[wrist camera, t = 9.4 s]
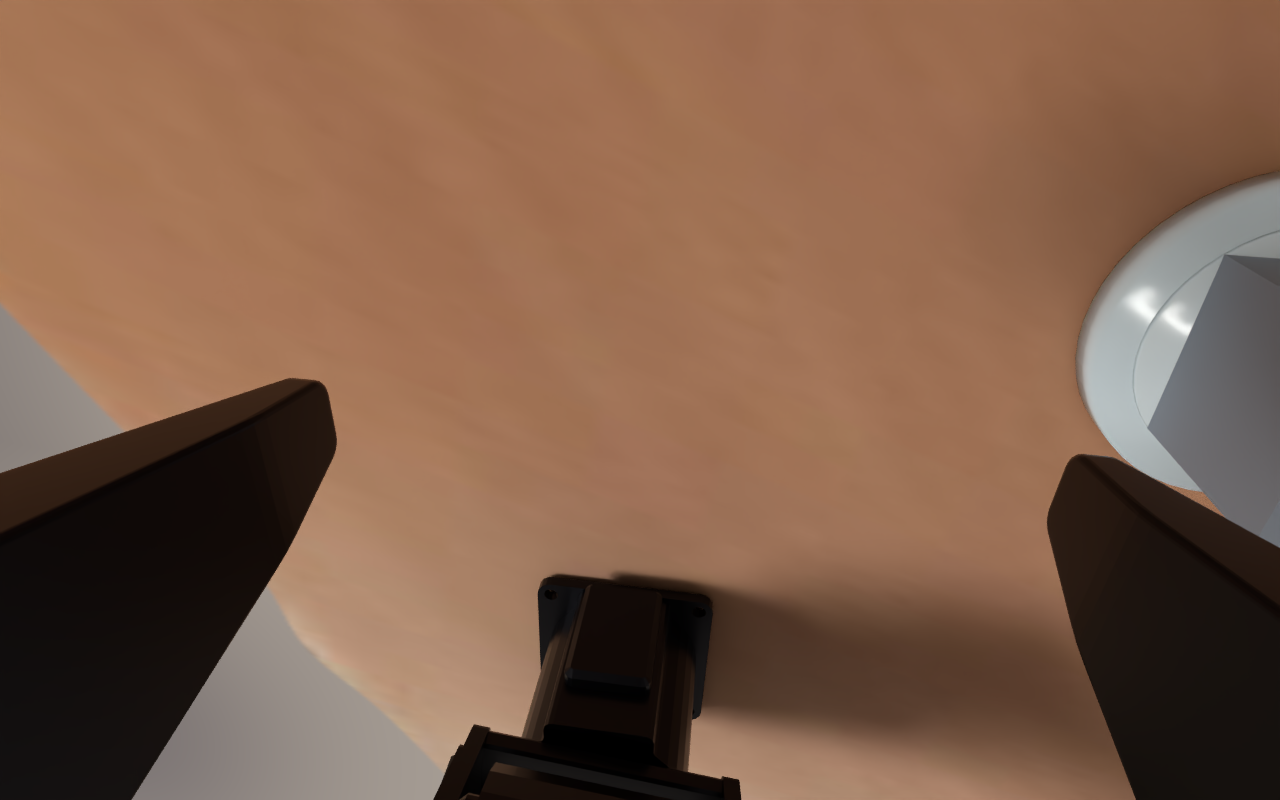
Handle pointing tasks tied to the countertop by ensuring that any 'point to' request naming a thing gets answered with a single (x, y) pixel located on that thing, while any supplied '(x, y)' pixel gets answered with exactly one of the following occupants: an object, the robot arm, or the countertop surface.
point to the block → (1231, 396)
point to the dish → (1164, 313)
